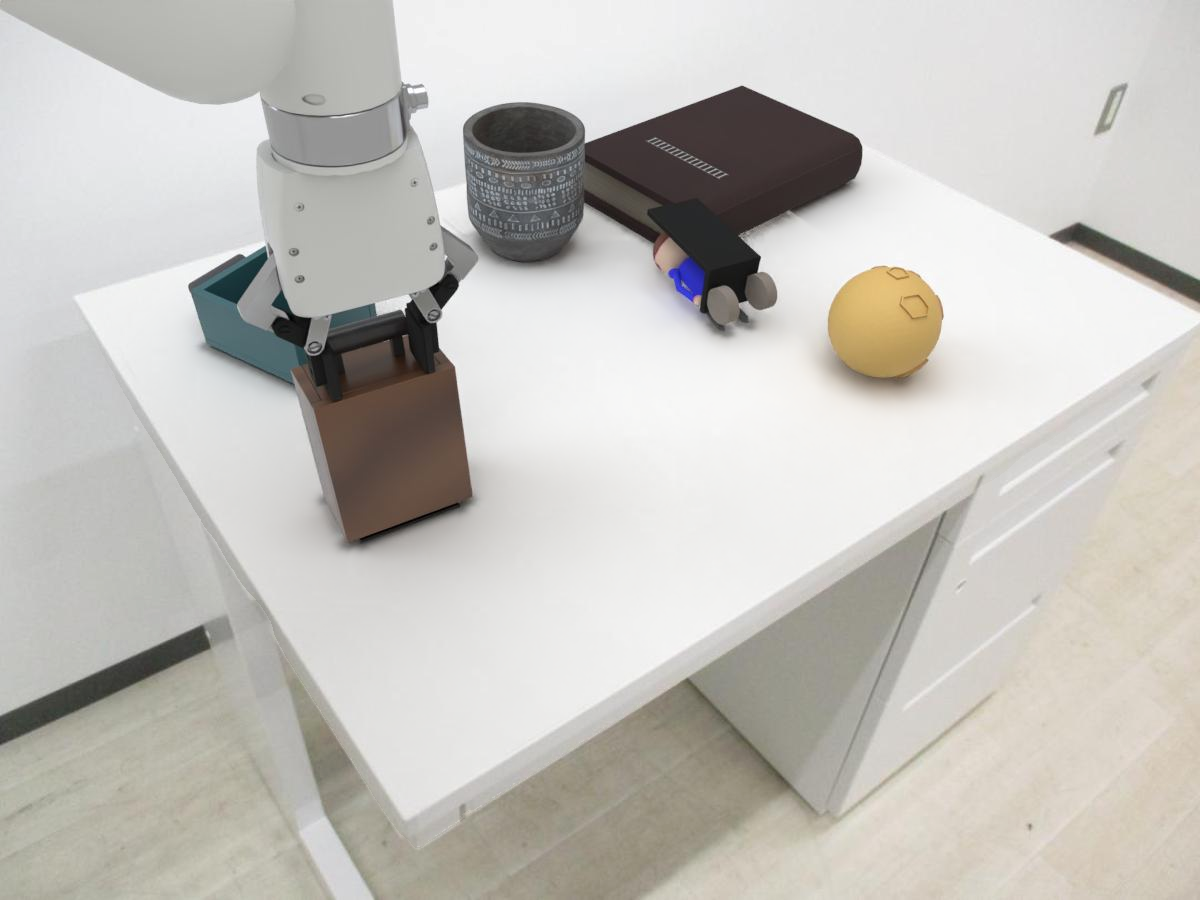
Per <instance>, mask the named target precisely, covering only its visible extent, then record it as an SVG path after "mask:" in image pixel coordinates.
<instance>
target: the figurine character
mask: <svg viewBox="0 0 1200 900" xmlns="http://www.w3.org/2000/svg"><path fill="white" fill-rule="evenodd" d="M647 215H648V216H649V217H650V218H651V219H652V220H653V221H654V222H655V223H656V224H657V225H658V226H659V227H660V228H661V229H662V230H663V231H664V232H663V233H662V234H661V235H660V236H659V237H658V238H657V240H656V242H655V244H654V243H653V248H652V257H653V261H654V264H655V265H656V267H657V269H659V270H660V271H661V272H662V273H663V274H665V275H667V276H668V277H669V278H670V279H673V283H674V286H675V291H676V292H677V293H679V294H680V295H682V296H683V297H685V299H687V300H688V301H690V302H691V303H693V304H694V306H696V307H699V312H700V313H701V314H702V315H704V314H705V316H707V318H708V319H709V320H710V321H711V322H712V323H713V324H714V326H716V328H717V329H718V330H720V331H724V332H725V329H726V328H725V325H726V324H730V323H733V322H736V321H737V320H739V321H740V322H742V323H749V316H748V314H746V313H745V312H744V310H743V309H742V308H741V307H740V304H742V303H747V302H748V304H749V305H750V306H751V307H752V308H753V309H755V310H756V311H762V310H766V309H770V308H772V307H774V306H775V305H776V303H777V300H778V289H777V286H776V283H775V281H774V279H773V278H772V276H771V275H770V274H769V273H767V272H765V271H759V268H760V264H761V260H762V256H761V255H760V254H759V253H758V252H757V251H755V249H754V248H752V247H751V246H750V245H749V244H748V243H747V242H746V241H745V240H744V239H743V238H741V237H740V235H737V234H736V233H735V232H734V231H733V230H732V229H730V228H729V227H728V226H727V225H726V224H725V223H724V222H723V221H722V220H721V219H720V218H719V217H717V216H716V215H715V214H714V213H713V212H712V211H711V210H710V209H709V208H708V207H707V206H706V205H704V204H703V203H702V202H701V201H700V200H699V199H698V198H694V199H690V200H686V201H681V202H677V203H673V204H669V205H664V206H660V207H656V208H651V209H648V211H647Z"/></svg>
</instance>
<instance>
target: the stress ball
mask: <svg viewBox="0 0 1200 900" xmlns="http://www.w3.org/2000/svg"><path fill="white" fill-rule="evenodd" d="M827 315H828V316H827V332H828V338H829V341H830V344H831V346H832V349H833V350H834V352H835V354H836V355H837V357H838V358H839V359H840V360H841V361H842V362H843V363H844V364H845V365H846V366H848V367H849V368H850V369H852V370H853V371H854V372H857V373H860V374H861V375H865V376H867V377H873V378H884V379H885V378H893V377H897V379H901V378H905V377H908V376H910V375H912V374H914V373H916V372H917V371H919V370H920V369H921V368H923V367H924V366H925V365H926V364H927V363H928V362H929V356H930V355H931V354H932V352H933V351H934V349H935V348H936V345H937V344H938V342H939V340H940V335H941V332H942V327H943V320H944V317H945V316H944V315H945V314H944V308H943V304H942V301H941V298H940V297H939V295H938V294H936V293H935V292H934V290H933V289H932V286H930V285H929V284H928V283H927V282H926V281H925V280H924V279H923V278H922V276H921V275H920V274H919V273H917V272H915V271H914V270H909V269H908V270H907V269H905V268H904V267H899V266H887V265H878V266H877V265H876V266H874V267H871V268H870V269H867V270H865V271H862V272H860V273H858V274H856V275H855V276H853V277H851V278H850V279H849V280H848V281H847V282H846V283H844V284H843V286H842V287H841V288H840V289H839V290H838V292H837V293H836V294H835V296H834V298H833V300H832V302H831V304H830V307H829V310H828V314H827Z"/></svg>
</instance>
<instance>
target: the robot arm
mask: <svg viewBox="0 0 1200 900" xmlns="http://www.w3.org/2000/svg"><path fill="white" fill-rule="evenodd" d="M0 10H1V11H3V12H5V13H7V14H8V15H10V16H11V17H13V18H15V19H17V20H19V21H21V22H23V23H24V24H26V25H29V26H30V27H32V28H35V29H36V30H38V31H40V32H42V33H43V34H46V35H47V36H49V37H51V38H54V39H55V40H57V41H59V42H62V44H65V45H67V46H68V47H71V48H73V49H75V50H76V51H79V52H81V53H83V54H84V55H86V56H88V57H91V58H92V59H94V60H96V61H98V62H100V63H102V64H103V65H106V66H108V67H110V68H112V69H114V70H116V71H118V72H119V73H122V74H124V75H125V76H127V77H129V78H131V79H133V80H135V81H137V82H139V83H141V84H143V85H145V86H147V87H149V88H152V89H153V90H155V91H158V92H159V93H162V94H164V95H167V96H168V97H172V98H175V99H178V100H181V101H184V102H189V103H194V104H199V105H219V106H220V105H226V104H233V103H238V102H240V101H243V100H246V99H249V98H251V97H254V96H255V95H257V94H258V93H259V97H260V101H261V106H262V110H263V115H264V120H265V125H266V130H267V135H268V139H264V140H263V141H261V142H260V143H259V144H258V145H257V147H256V159H255V160H256V161H255V162H256V163H255V164H256V166H255V167H256V168H255V169H256V187H257V196H258V197H257V198H258V205H259V212H260V213H259V214H260V219H261V220H260V221H261V227H262V232H263V238H264V243H265V245H266V250H267V256H268V259H267V261H266V262H265V264H264V265H263V267H262V268H261V270H260V271H259V273H258V274H257V275H256V277H255V278H254V280H253V281H252V283H251V284H250V286H249V287H248V288H247V290H246V291H245V293H244V294H243V296H242V297H241V299H240V300H239V302H238V304H237V308H238V310H239V313H240V315H241V317H242V319H243V320H244V321H245V322H247V323H250V324H252V325H254V326H257V327H259V328H261V329H264V330H266V331H267V330H268V331H271V332H273V333H275V335H276V336H277V337H279V338H281V339H283V340H286V341H288V342H290V343H292V344H294V345H297V346H299V347H301V348H303V349H305V354H306V358H307V363H308V367H309V372H310V375H311V378H312V380H313V383H314V384H315V386H316V387H319V386H322V385H324V386H325V388H326V390H327V392H328V394H329V396H330V398H331V400H332V401H333V402H334V401H337V400H340V397H343V394H342V389H341V384H340V379H339V374H338V369H337V364H336V359H335V354H334V352H333V350H332V348H331V346H330V344H329V343H328V341H327V339H326V338H327V334H328V330H329V326H330V321H331V317H332V314H334V313H338V312H342V311H346V310H350V309H353V308H357V307H361V306H365V305H369V304H373V303H375V304H376V303H380V302H384V301H388V300H392V299H395V298H399V297H403V296H407V295H408V296H409V297H410V299H411V300H410V301H409V302H406V307H405V308H404V315H405V317H406V324H407V332H408V339H409V347H410V351H411V353H412V355H413V356H414V358H415V359H416V361H417V362H418V364H419V365H420V367H421V368H422V370H423V372H424V373H425V372H427V373H428V374H429V373H432V372H435V362H434V353H437V352H439V348H440V343H439V333H438V322H439V321H440V320H441V319H442V318H443V308H445V306H446V305H447V304H448V303H449V301H450V300H451V298H452V297H453V296H454V295H455V293H456V292H457V291H458V289H459V286H460V282H461V281H463V280H464V279H466V277H467V276H468V274H469V273H470V272H472V270H473V268H475V266H476V265H477V263H478V262H479V255H478V254H477V253H476V251H475V250H474V249H473V248H472V247H471V245H469V244H468V243H467V242H466V241H464V240H462V239H461V238H459V237H458V236H456V234H454V233H453V232H451V231H449V230H448V229H447V228H446V227H444V226H442V225H441V220H440V215H439V210H438V206H437V199H436V197H435V191H434V187H433V183H432V179H431V174H430V171H429V168H428V164H427V160H426V156H425V154H424V150H423V148H422V145H421V142H420V139H419V136H418V134H417V132H416V130H415V129H414V127H413V126H412V125H411V123H410V121H411V118H412V114H415V113H417V111H419V110H424V109H428V108H429V96H428V91H427V89H426V87H425V85H424V84H423V83H420V84H415V85H411V84H410V83H404V82H403V81H402V72H401V64H400V63H401V62H400V53H399V44H398V36H397V27H396V18H395V17H396V16H395V9H394V0H0ZM265 245H264V246H265ZM445 256H446V257H445ZM281 290H283V293H284V296H285V298H286V299H287V302H288V305H289V307H290V309H291V311H292V313H293V314H292V313H290V312H288V311H286V310H284V309H282V308H275V307H273V306H272V305H271V304H272V303H273V302H274V300H275V299H276V297H277V296H278V294H279V293H280V292H281ZM294 314H295V315H294Z"/></svg>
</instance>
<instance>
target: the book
mask: <svg viewBox="0 0 1200 900" xmlns="http://www.w3.org/2000/svg"><path fill="white" fill-rule="evenodd" d="M862 162H863V145H862V142H861V140H860V138H858V137H857V136H856V135H855V134H853V133H851V132H849V131H847V130H845V129H843V128H840V127H838V126H836V125H834V124H832V123H829V122H827V121H825V120H822V119H820V118H817V117H816V116H813V115H811V114H808V113H807V112H804V111H802V110H799V109H797V108H795V107H792V106H790V105H788V104H786V103H783V102H781V101H779V100H777V99H774V98H772V97H770V96H767V95H765V94H763V93H761V92H759V91H756V90H754V89H752V88H749V87H747V86H744V85H740V86H739V85H738V86H736V87H734V88H731V89H728V90H725V91H723V92H720V93H718V94H716V95H712V96H710V97H707V98H703V99H702V100H698V101H696V102H692V103H690V104H688V105H685V106H683V107H679V108H677V109H674V110H671V111H668V112H666V113H663V114H660V115H657V116H656V117H652V118H650V119H646V120H644V121H642V122H639V123H636V124H633V125H630V126H628V127H625V128H622V129H619V130H617V131H614V132H612V133H609V134H607V135H603V136H601V137H598V138H595V139H593V140H592V139H591V140H590V141H587V142H585V170H584V204H587V205H589V206H591V207H592V208H593V209H595V210H597V211H598V212H600V213H601V214H604V215H605V216H607V217H609V218H610V219H612V220H614V221H616V222H617V223H619V224H620V225H622V226H624V227H625V228H627V229H629V230H631V231H632V232H633V233H635V234H637V235H639V236H641V237H642V238H643V239H645V240H647V241H649V242H650V243H652V244H653V245H654V244H655V242H656V240H657V238H658V237H659V236H660V235H661V234H662V233H663V232H664V231H663V230H662V229H661V228H660V227H659V226H658V225H657V224H656V223H655V222H654V221H653V220H652V219H651V218H650V217H649V216H648V215H647V211H648V209H651V208H656V207H660V206H664V205H669V204H673V203H677V202H681V201H686V200H690V199H694V198H698V199H699V200H700V201H701V202H702V203H703V204H704V205H706V206H707V207H708V208H709V209H710V210H711V211H712V212H713V213H714V214H715V215H716V216H717V217H719V218H720V219H721V220H722V221H723V222H724V223H725V224H726V225H727V226H728V227H729V228H730V229H732V230H733V231H734V232H735V233H736V234H737V235H738V236H740V235H742V234H744V233H746V232H748V231H750V230H752V229H754V228H756V227H758V226H760V225H763V224H765V223H767V222H768V221H770V220H772V219H775V218H777V217H779V216H781V215H784V214H785V213H787V212H789V211H791V210H794V209H795V208H797V207H799V206H801V205H804V204H806V203H808V202H810V201H812V200H814V199H816V198H819V197H820V196H823V195H825V194H827V193H829V192H831V191H832V190H834V189H837V188H839V187H841V186H843V185H845V184H847V183H849V182H851V181H853V180H855V179H856V177H858V173H859V172H860V169H861V167H862Z"/></svg>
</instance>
